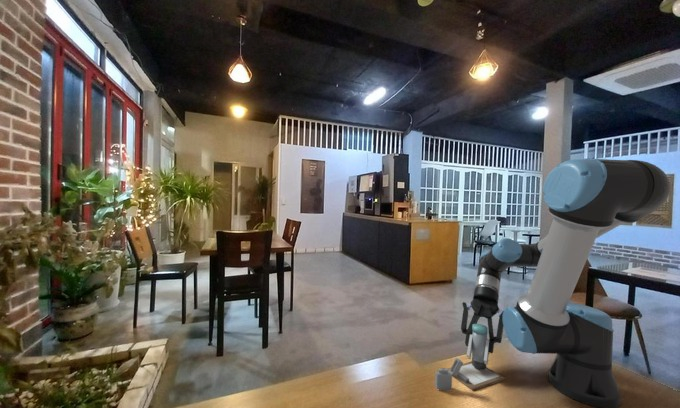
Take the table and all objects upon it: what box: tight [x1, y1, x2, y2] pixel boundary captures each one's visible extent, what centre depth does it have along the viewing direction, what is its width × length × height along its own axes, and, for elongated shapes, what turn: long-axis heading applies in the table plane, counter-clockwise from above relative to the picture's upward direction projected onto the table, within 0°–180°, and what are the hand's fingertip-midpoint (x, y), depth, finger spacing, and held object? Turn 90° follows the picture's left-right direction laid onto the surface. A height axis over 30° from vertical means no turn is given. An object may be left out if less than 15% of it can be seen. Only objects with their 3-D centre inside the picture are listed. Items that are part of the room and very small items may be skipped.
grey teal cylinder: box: [471, 323, 488, 369], centre depth 87 cm, size 4×4×12 cm
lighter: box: [434, 357, 464, 391], centre depth 78 cm, size 7×2×8 cm, turn 92°
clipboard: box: [447, 360, 505, 392], centre depth 84 cm, size 10×13×2 cm
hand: (477, 359), depth 84 cm, fingers closed on grey teal cylinder, 4 cm apart
